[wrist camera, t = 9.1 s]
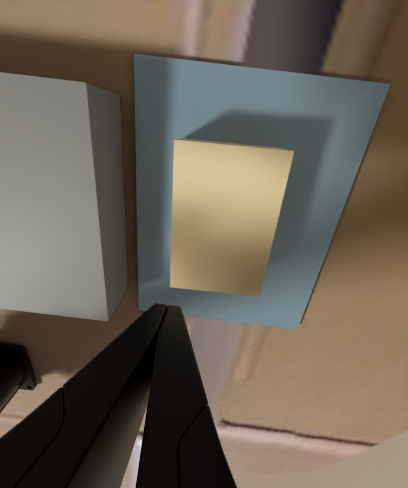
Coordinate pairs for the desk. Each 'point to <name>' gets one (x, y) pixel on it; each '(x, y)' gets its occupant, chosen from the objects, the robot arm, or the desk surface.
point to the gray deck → (61, 198)
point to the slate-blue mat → (250, 133)
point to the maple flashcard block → (225, 214)
